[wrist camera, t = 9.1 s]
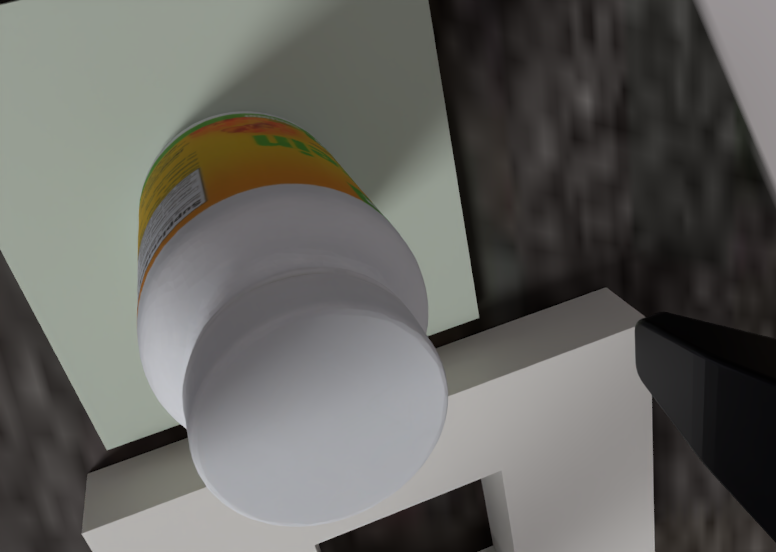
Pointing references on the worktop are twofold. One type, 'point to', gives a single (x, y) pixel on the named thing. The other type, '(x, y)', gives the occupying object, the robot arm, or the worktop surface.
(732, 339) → the robot arm
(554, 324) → the socket block
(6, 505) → the worktop surface
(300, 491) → the supplement bottle
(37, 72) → the mat
